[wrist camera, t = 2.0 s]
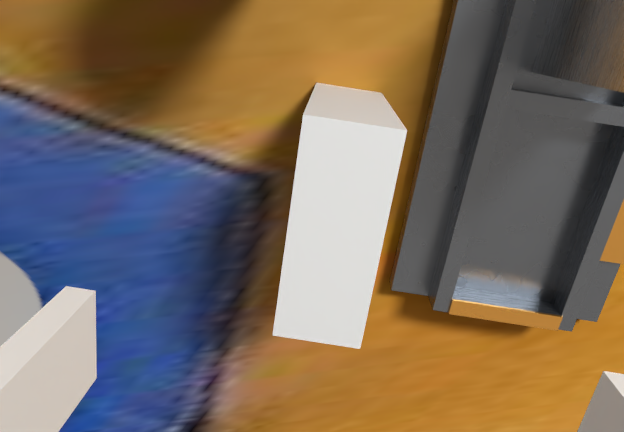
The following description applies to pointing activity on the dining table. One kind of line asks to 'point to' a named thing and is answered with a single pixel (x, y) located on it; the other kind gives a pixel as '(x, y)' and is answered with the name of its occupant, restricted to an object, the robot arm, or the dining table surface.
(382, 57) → the dining table surface
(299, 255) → the block
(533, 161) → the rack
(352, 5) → the dining table surface
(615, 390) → the robot arm
